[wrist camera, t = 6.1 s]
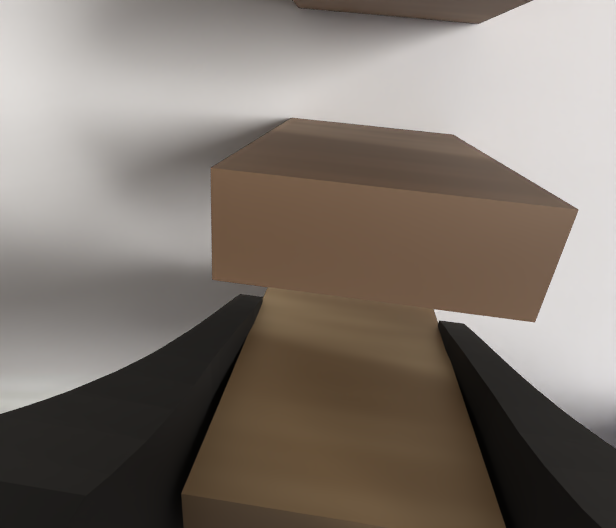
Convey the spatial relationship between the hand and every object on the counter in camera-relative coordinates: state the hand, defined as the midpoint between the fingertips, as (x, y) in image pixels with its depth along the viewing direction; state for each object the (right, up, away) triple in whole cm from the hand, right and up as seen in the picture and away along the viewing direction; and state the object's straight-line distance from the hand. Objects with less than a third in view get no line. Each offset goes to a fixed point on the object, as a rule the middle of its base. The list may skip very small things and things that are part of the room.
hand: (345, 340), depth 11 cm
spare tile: (0, +1, +2) cm, 2 cm away
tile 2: (+1, +5, +1) cm, 5 cm away
